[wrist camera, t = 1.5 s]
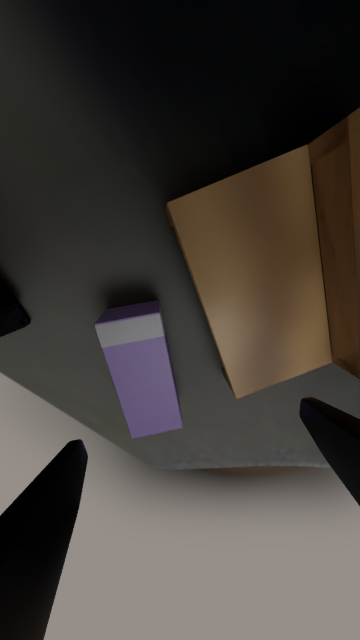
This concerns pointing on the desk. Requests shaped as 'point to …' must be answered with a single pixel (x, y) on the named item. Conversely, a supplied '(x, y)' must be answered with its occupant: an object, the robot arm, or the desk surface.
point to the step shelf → (279, 261)
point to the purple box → (141, 367)
